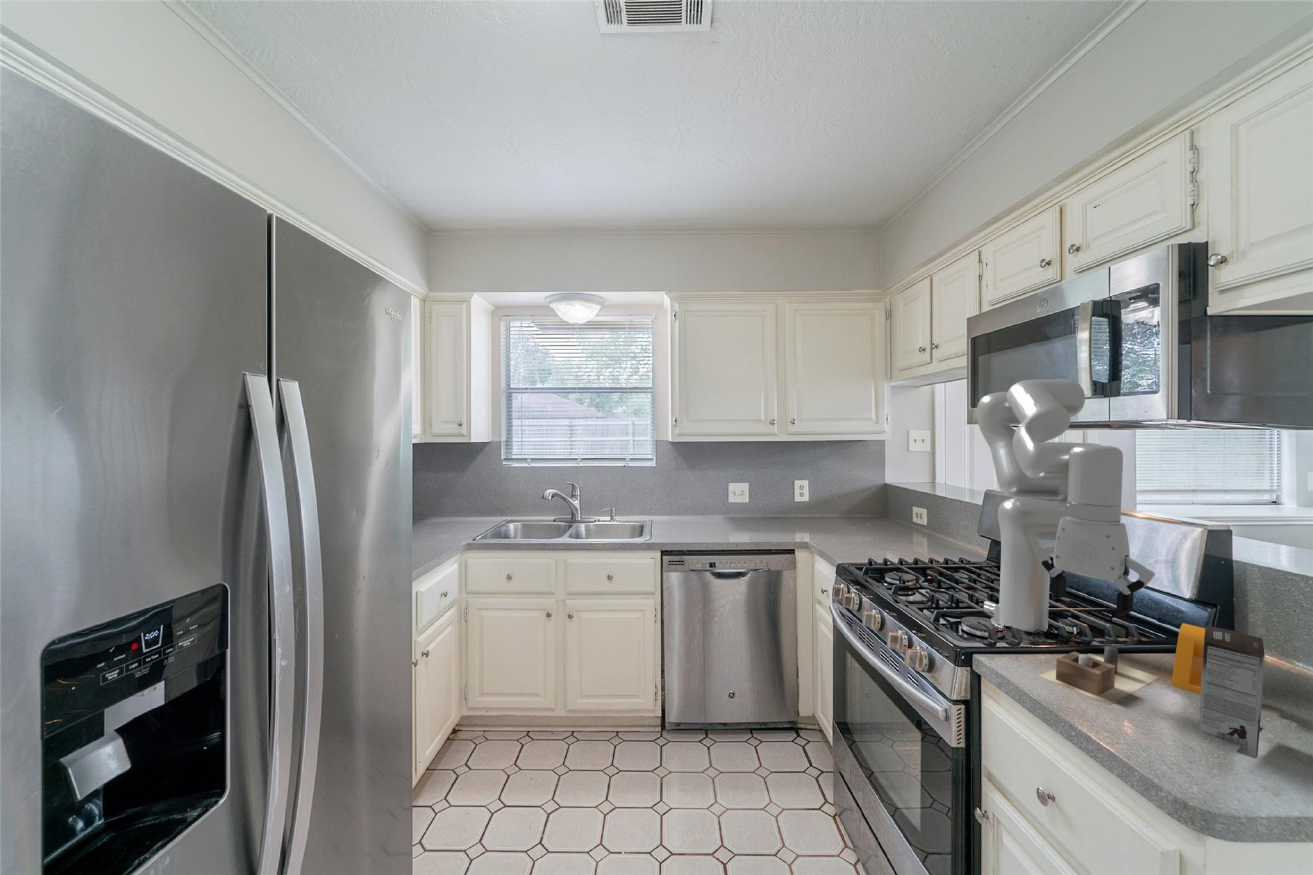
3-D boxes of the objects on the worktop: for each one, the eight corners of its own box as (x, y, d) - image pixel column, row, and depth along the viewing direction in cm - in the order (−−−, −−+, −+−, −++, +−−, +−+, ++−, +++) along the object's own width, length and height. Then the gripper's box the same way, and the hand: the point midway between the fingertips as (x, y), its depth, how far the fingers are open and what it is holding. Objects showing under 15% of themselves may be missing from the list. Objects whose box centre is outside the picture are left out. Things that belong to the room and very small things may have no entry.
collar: (1055, 679, 97) (1056, 658, 97) (1073, 671, 100) (1074, 651, 100) (1097, 695, 92) (1098, 673, 92) (1114, 687, 95) (1115, 665, 94)
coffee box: (1199, 717, 88) (1205, 624, 87) (1257, 734, 83) (1263, 636, 83) (1196, 739, 82) (1202, 639, 81) (1258, 759, 77) (1265, 654, 76)
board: (1038, 683, 99) (1039, 649, 99) (1089, 660, 108) (1091, 629, 108) (1109, 712, 89) (1111, 676, 89) (1159, 685, 98) (1161, 651, 98)
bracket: (1228, 712, 90) (1232, 644, 89) (1170, 693, 96) (1174, 629, 95) (1242, 694, 96) (1246, 630, 95) (1186, 677, 102) (1190, 617, 101)
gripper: (1029, 507, 100) (1026, 594, 101) (1145, 523, 85) (1141, 626, 86) (1050, 504, 104) (1047, 589, 104) (1165, 519, 88) (1160, 618, 89)
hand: (1089, 605), depth 95 cm, fingers open, 9 cm apart
